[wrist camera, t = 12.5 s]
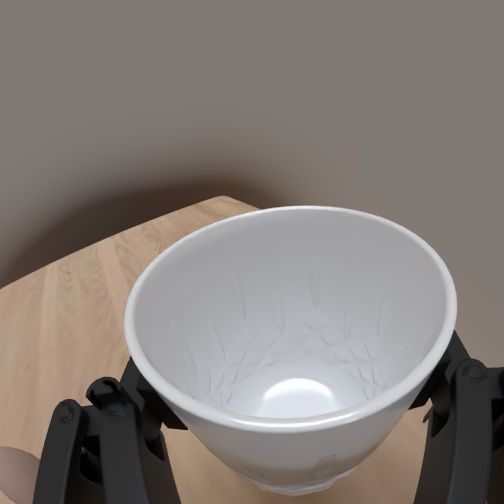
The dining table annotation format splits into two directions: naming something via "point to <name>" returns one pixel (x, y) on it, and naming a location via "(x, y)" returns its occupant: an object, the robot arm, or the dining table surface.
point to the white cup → (292, 338)
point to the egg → (18, 474)
